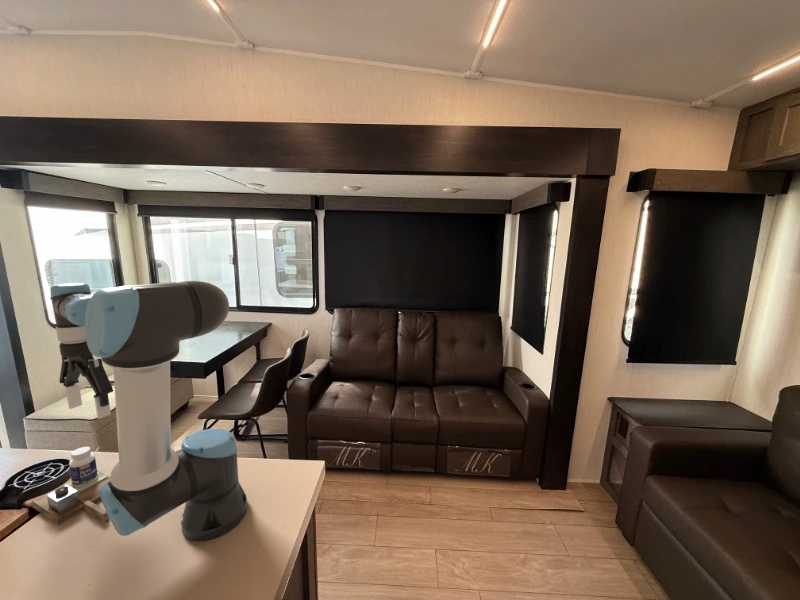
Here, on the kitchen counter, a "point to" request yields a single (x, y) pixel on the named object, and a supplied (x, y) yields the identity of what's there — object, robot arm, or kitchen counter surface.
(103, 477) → the station
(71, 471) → the pill bottle
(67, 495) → the latch bolt
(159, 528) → the kitchen counter surface
